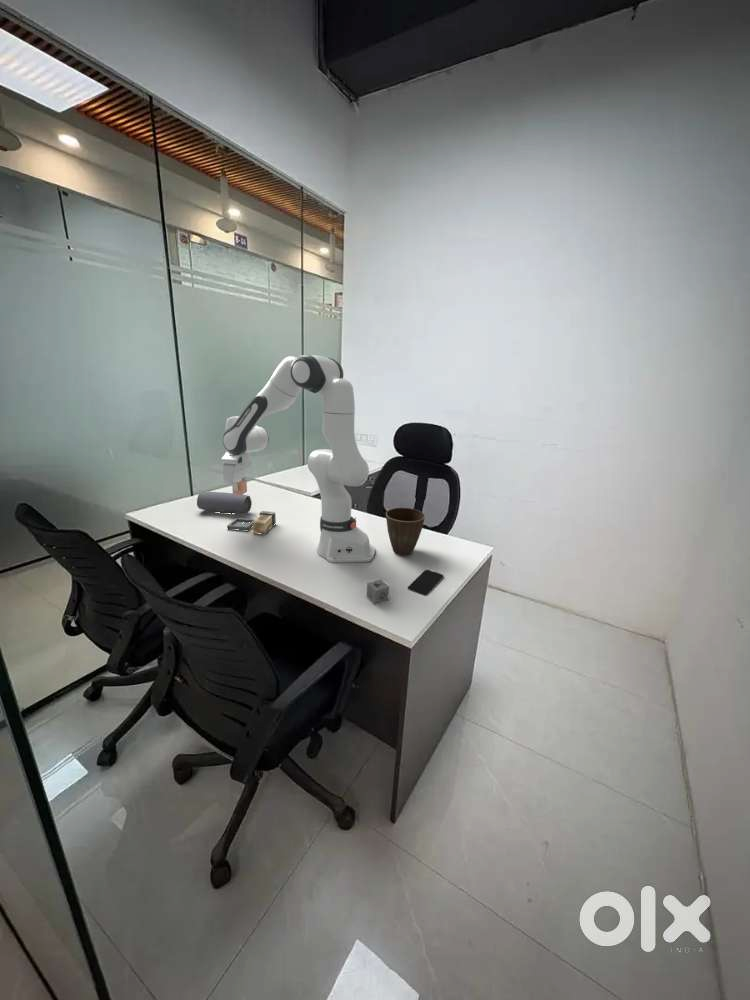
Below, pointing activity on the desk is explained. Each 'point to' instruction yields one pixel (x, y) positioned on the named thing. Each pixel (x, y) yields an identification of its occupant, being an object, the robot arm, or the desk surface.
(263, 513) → the block
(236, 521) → the tray
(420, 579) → the smartphone
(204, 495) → the bluetooth speaker
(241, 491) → the orange cube
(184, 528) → the desk surface
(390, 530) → the plant pot
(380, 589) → the dice cube
